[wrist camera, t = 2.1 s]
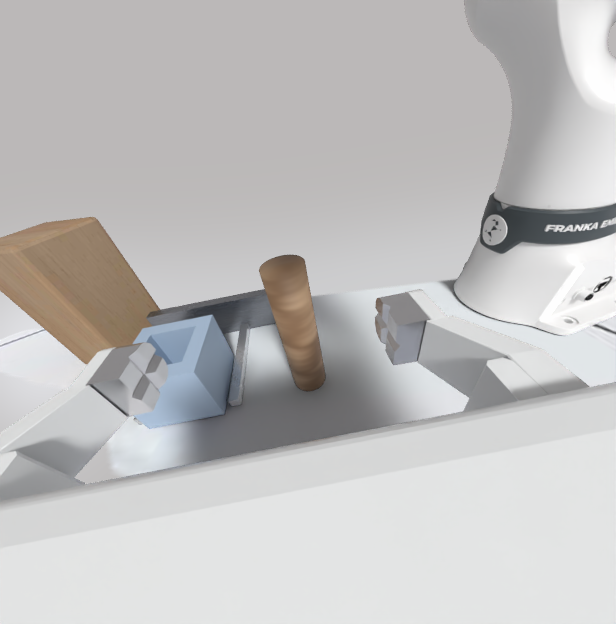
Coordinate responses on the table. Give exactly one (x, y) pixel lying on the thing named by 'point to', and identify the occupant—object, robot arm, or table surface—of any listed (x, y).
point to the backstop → (226, 326)
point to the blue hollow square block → (189, 371)
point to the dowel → (294, 318)
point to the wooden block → (75, 285)
